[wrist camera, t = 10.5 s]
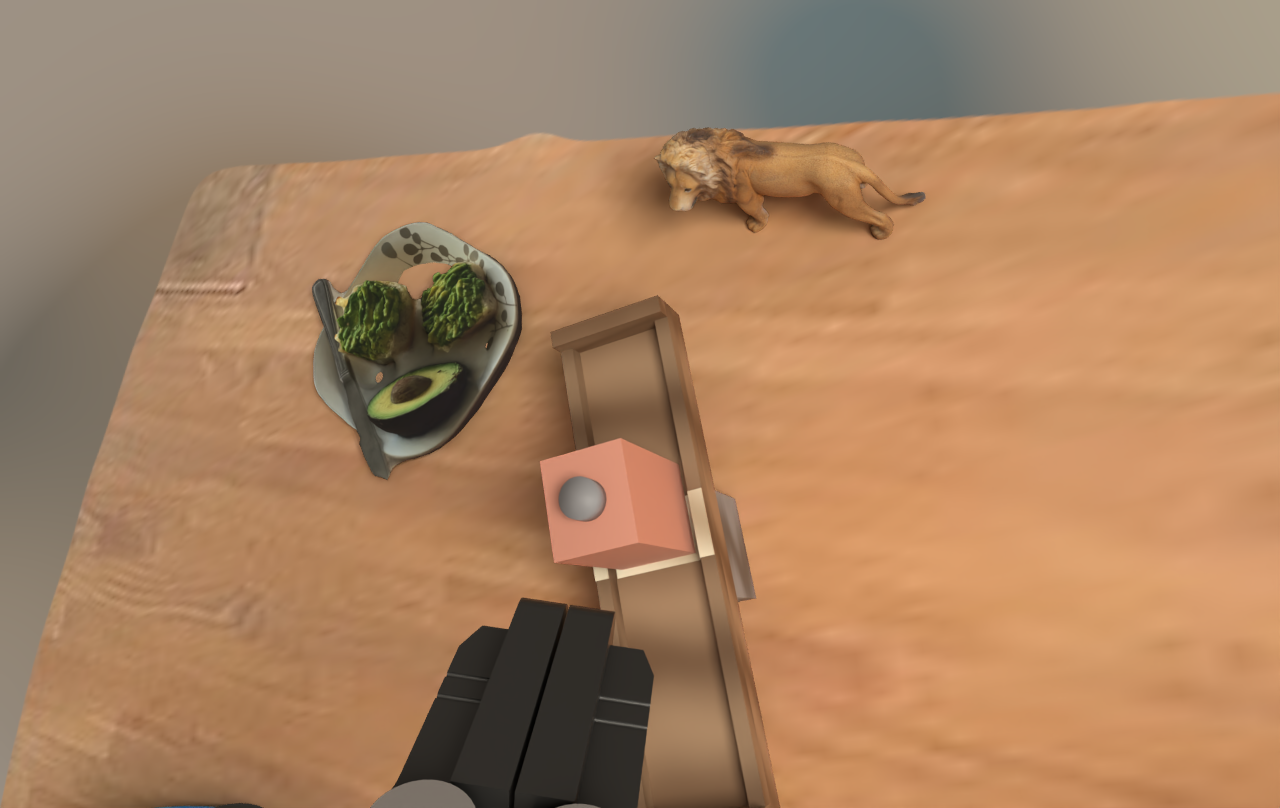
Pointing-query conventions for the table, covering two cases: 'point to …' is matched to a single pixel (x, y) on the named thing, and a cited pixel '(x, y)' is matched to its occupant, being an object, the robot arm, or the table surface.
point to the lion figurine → (771, 175)
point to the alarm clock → (188, 807)
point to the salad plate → (414, 344)
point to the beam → (674, 567)
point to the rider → (615, 507)
